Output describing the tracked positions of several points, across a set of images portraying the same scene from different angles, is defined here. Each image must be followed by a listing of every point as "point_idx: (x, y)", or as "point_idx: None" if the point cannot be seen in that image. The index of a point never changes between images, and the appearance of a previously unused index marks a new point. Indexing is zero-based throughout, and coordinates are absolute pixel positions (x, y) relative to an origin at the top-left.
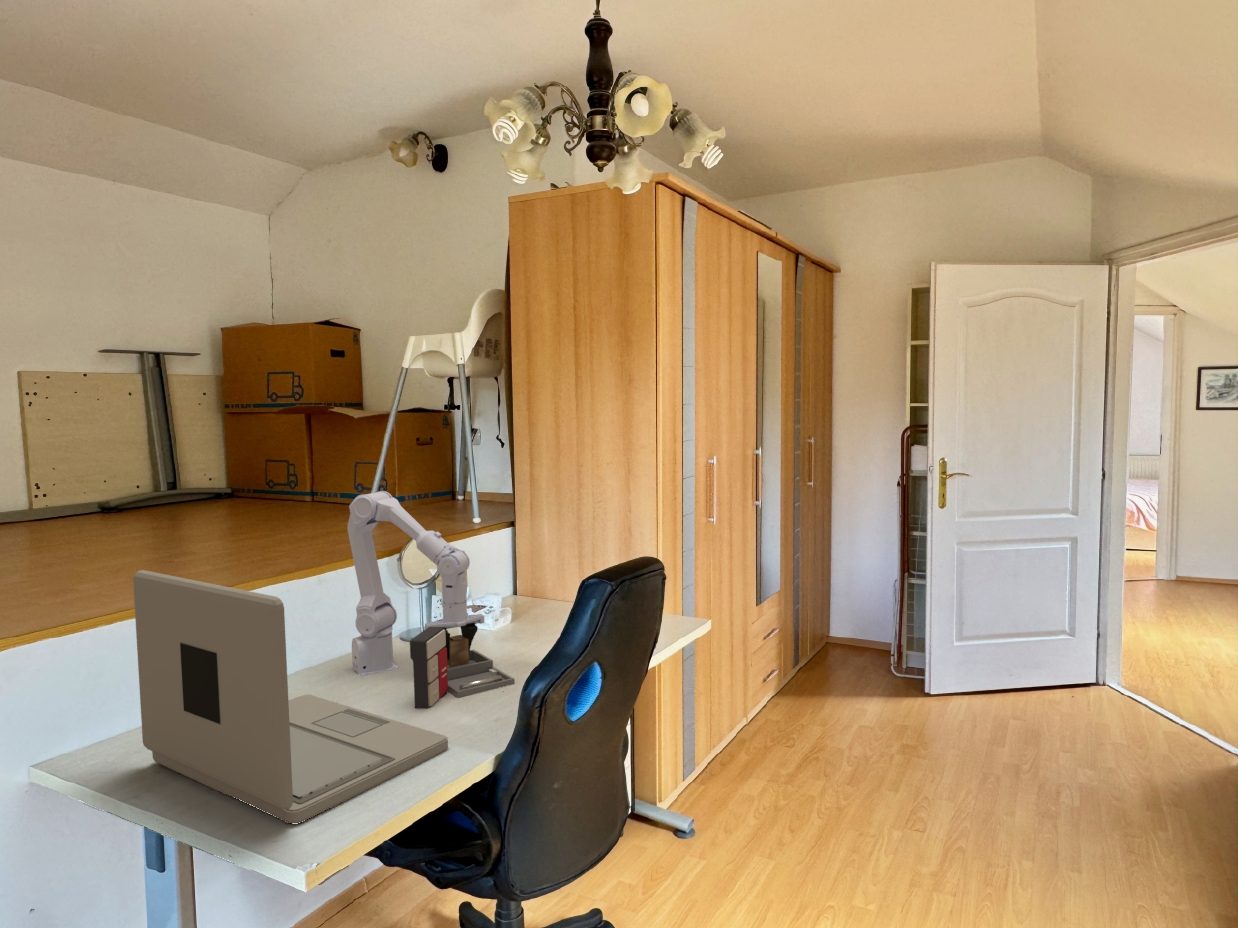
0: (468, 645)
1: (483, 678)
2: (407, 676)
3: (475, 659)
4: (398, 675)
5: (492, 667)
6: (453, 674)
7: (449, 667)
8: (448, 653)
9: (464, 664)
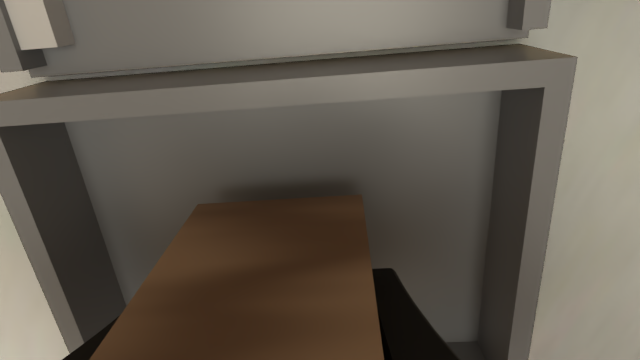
0: None
1: None
2: (588, 317)
3: None
4: (618, 357)
5: (16, 64)
6: (389, 62)
7: None
8: (384, 298)
9: None
